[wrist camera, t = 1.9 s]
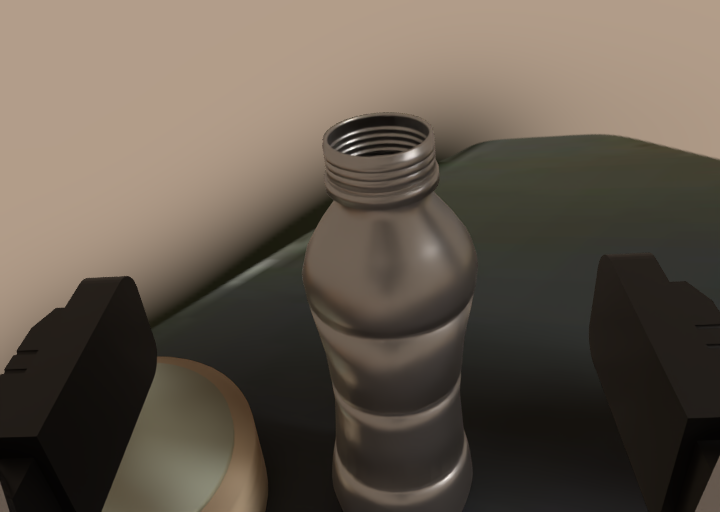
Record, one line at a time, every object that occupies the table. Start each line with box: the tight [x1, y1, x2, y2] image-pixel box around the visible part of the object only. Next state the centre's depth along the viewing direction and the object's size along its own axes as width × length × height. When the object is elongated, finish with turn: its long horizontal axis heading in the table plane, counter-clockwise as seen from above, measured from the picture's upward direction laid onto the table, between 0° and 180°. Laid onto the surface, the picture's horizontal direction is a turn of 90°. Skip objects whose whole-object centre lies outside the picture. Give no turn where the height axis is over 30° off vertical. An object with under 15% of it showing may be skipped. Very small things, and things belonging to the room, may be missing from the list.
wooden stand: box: [102, 357, 268, 512], centre depth 33 cm, size 14×14×4 cm
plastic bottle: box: [302, 112, 478, 512], centre depth 28 cm, size 6×7×20 cm
